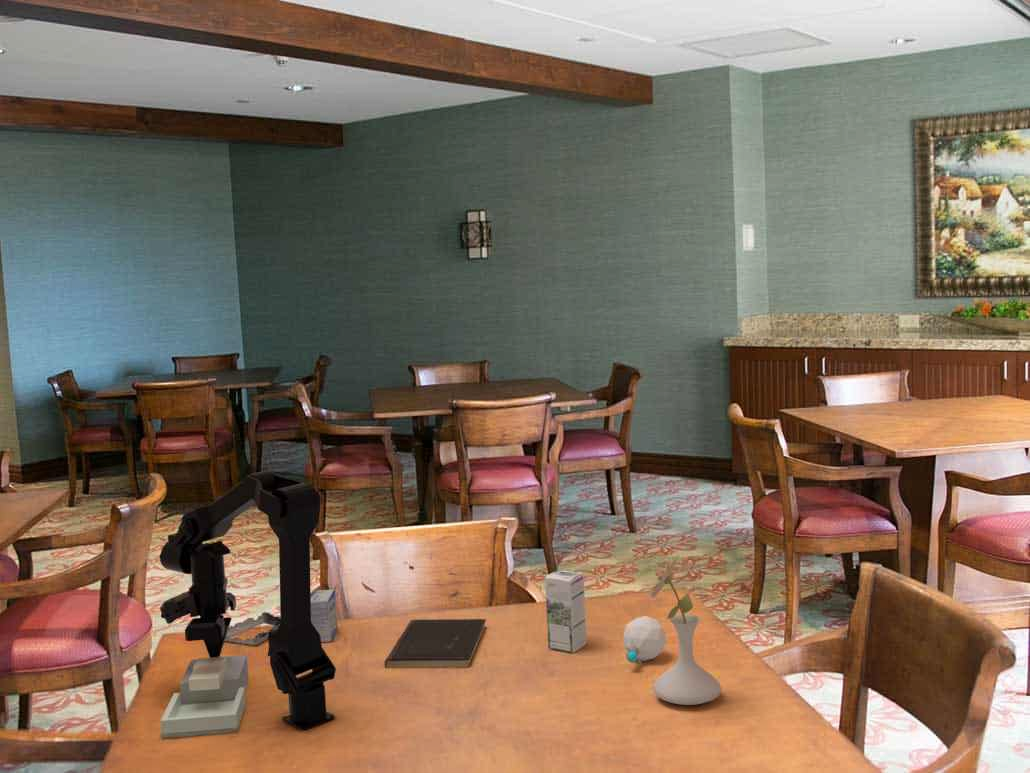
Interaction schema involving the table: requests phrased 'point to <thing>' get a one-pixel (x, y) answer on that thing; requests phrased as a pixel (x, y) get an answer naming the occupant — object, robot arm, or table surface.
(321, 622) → the medicine box
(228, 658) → the grey rounded box
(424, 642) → the hardcover book
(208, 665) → the rear tile
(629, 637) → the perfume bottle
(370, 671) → the table surface
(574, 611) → the syrup box
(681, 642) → the flower in vase
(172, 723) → the box
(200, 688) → the front tile
